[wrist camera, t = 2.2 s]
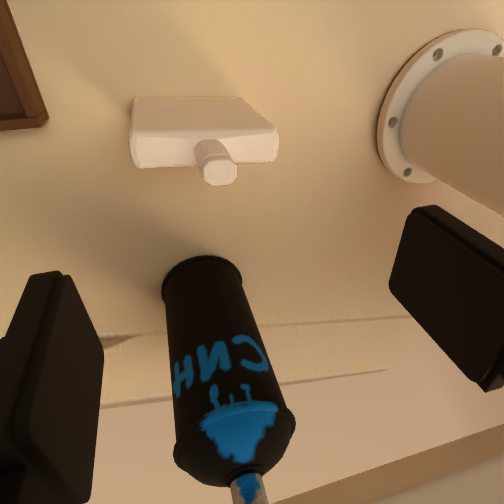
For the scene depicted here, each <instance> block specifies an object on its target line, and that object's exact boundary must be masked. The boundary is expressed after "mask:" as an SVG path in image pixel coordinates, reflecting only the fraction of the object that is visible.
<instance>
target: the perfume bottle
mask: <svg viewBox="0 0 504 504" xmlns="http://www.w3.org/2000/svg"><path fill="white" fill-rule="evenodd" d="M278 143H279V137H278V132H277V130H276V128H275V127H274V126H273V125H272V124H270V123H269V122H268V121H267V120H266V119H265V118H264V117H262V116H261V115H260V114H259V113H258V112H257V111H256V110H254V109H253V108H252V107H251V106H250V105H249V104H248V103H246V102H245V101H244V100H243V99H242V98H134V100H133V103H132V113H131V124H130V134H129V150H130V156H131V159H132V161H133V164H134V165H135V166H136V167H137V168H138V169H140V168H161V167H182V166H199V169H200V172H201V175H202V177H203V180H204V181H205V182H206V183H208V184H209V185H212V186H222V185H229V184H231V183H232V182H233V181H234V180H235V179H236V178H237V166H236V164H244V163H265V162H273V161H274V159H275V158H276V155H277V152H278Z"/></svg>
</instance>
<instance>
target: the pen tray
mask: <svg viewBox="0 0 504 504" xmlns="http://www.w3.org/2000/svg"><path fill="white" fill-rule="evenodd" d="M48 119H49V116H48V113H47V111H46V108H45V105H44V102H43V100H42V97H41V94H40V91H39V89H38V86H37V83H36V80H35V78H34V75H33V72H32V69H31V67H30V64H29V61H28V58H27V56H26V53H25V50H24V47H23V45H22V42H21V39H20V36H19V34H18V31H17V28H16V25H15V23H14V20H13V17H12V14H11V12H10V9H9V6H8V3H7V1H6V0H0V131H5V130H16V129H27V128H38V127H42V125H43V124H44V123H45V122H46V121H47V120H48Z"/></svg>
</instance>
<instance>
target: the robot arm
mask: <svg viewBox="0 0 504 504" xmlns="http://www.w3.org/2000/svg"><path fill="white" fill-rule="evenodd" d="M377 144H378V151H379V154H380V157H381V160H382V162H383V163H384V165H385V166H386V168H387V169H388V170H389V171H390V172H392V173H393V174H394V175H395V176H397V177H398V178H400V179H402V180H404V181H407V182H410V183H417V184H424V183H431V182H435V181H438V180H440V181H442V182H444V183H445V184H447V185H449V186H451V187H452V188H454V189H456V190H458V191H460V192H461V193H463V194H465V195H467V196H468V197H470V198H472V199H474V200H475V201H477V202H479V203H481V204H483V205H484V206H486V207H488V208H490V209H491V210H493V211H495V212H497V213H498V214H500V215H502V216H504V41H503V40H502V39H501V38H500V37H499V36H498V35H496V34H494V33H492V32H489V31H487V30H478V29H462V30H456V31H453V32H450V33H447V34H444V35H442V36H441V37H439V38H437V39H435V40H433V41H431V42H430V43H429V44H427V45H426V46H425V47H423V48H422V49H421V50H420V51H418V52H417V53H416V54H415V55H414V56H413V57H412V58H411V60H410V61H409V62H408V63H407V64H406V65H405V66H404V67H403V69H402V70H401V72H400V73H399V74H398V76H397V77H396V78H395V80H394V82H393V84H392V86H391V87H390V89H389V91H388V93H387V95H386V98H385V100H384V103H383V105H382V108H381V111H380V116H379V120H378V125H377ZM389 289H390V291H391V293H392V294H393V295H394V297H395V298H396V299H397V300H398V301H399V302H400V303H401V304H402V305H403V307H404V308H405V309H406V310H407V311H408V312H409V313H410V314H411V315H412V317H413V318H414V319H415V320H416V321H417V322H418V323H419V324H420V325H421V327H422V328H423V329H424V330H425V331H426V332H427V333H428V334H429V335H430V336H431V338H432V339H433V340H434V341H435V342H436V343H437V344H438V345H439V347H440V348H441V349H442V350H443V351H444V352H445V353H446V354H447V355H448V357H449V358H450V359H451V360H452V361H453V362H454V363H455V364H456V365H457V367H458V368H459V369H460V370H461V371H462V372H463V373H464V374H465V375H466V377H467V378H469V379H470V380H471V381H473V382H476V383H477V384H478V385H479V386H480V387H481V389H482V390H483V391H484V392H485V393H486V392H489V391H492V390H496V389H499V388H502V387H503V385H504V249H503V248H502V247H501V246H499V245H497V244H496V243H494V242H493V241H491V240H490V239H488V238H487V237H485V236H484V235H482V234H480V233H479V232H477V231H476V230H474V229H473V228H471V227H470V226H468V225H467V224H465V223H464V222H462V221H460V220H459V219H457V218H456V217H454V216H453V215H451V214H450V213H448V212H447V211H445V210H443V209H442V208H440V207H439V206H437V205H429V206H423V207H417V208H415V209H413V210H412V211H411V214H409V215H408V216H407V219H406V222H405V226H404V229H403V233H402V236H401V240H400V243H399V247H398V251H397V254H396V258H395V261H394V265H393V268H392V272H391V276H390V279H389ZM103 366H104V351H103V347H102V344H101V342H100V340H99V337H98V335H97V333H96V331H95V329H94V326H93V324H92V322H91V320H90V317H89V315H88V313H87V311H86V309H85V306H84V304H83V302H82V300H81V297H80V295H79V293H78V291H77V289H76V286H75V284H74V282H73V280H72V278H71V276H70V275H62V273H61V272H60V271H58V270H57V271H51V272H45V273H40V274H34V275H31V276H30V277H29V279H28V282H27V284H26V286H25V289H24V291H23V294H22V296H21V299H20V301H19V304H18V306H17V308H16V311H15V313H14V316H13V318H12V321H11V323H10V325H9V328H8V330H7V333H6V335H5V337H2V338H1V339H0V504H84V503H86V502H88V501H89V499H90V496H91V489H92V479H93V468H94V458H95V447H96V437H97V428H98V417H99V407H100V397H101V387H102V377H103ZM273 504H504V424H502V425H499V426H496V427H493V428H490V429H487V430H484V431H481V432H478V433H475V434H472V435H470V436H466V437H464V438H461V439H458V440H455V441H452V442H449V443H446V444H443V445H440V446H437V447H434V448H432V449H429V450H426V451H423V452H420V453H417V454H414V455H411V456H408V457H405V458H402V459H400V460H397V461H394V462H391V463H388V464H385V465H382V466H379V467H377V468H374V469H370V470H367V471H365V472H362V473H359V474H356V475H353V476H350V477H347V478H344V479H341V480H339V481H336V482H333V483H330V484H327V485H324V486H321V487H318V488H315V489H313V490H310V491H307V492H304V493H301V494H298V495H295V496H293V497H290V498H287V499H284V500H281V501H278V502H275V503H273Z"/></svg>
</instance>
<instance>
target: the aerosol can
mask: <svg viewBox="0 0 504 504" xmlns="http://www.w3.org/2000/svg"><path fill="white" fill-rule="evenodd" d="M161 294H162V299H163V301H164V303H165V309H166V321H167V334H168V346H169V358H170V371H171V383H172V395H173V407H174V420H175V431H176V444H175V446H174V451H173V457H174V461H175V463H176V464H177V466H178V467H179V468H181V469H182V470H184V471H186V472H188V473H189V475H191V476H192V477H194V478H195V479H196V480H198V481H199V482H201V483H203V484H206V485H210V486H217V487H229V488H231V494H232V499H233V504H268V500H267V496H266V492H265V488H264V485H263V481H262V476H263V475H264V474H265V473H267V472H268V471H269V470H271V469H272V468H273V467H274V466H275V465H276V464H277V463H278V462H279V461H280V459H281V458H282V457H283V455H284V453H285V451H286V448H287V446H288V444H289V441H290V439H291V437H292V435H293V433H294V431H295V426H296V422H295V417H294V415H293V414H292V412H291V411H290V410H289V409H288V408H287V407H286V404H285V401H284V398H283V396H282V393H281V390H280V387H279V385H278V382H277V379H276V377H275V374H274V371H273V368H272V366H271V363H270V360H269V358H268V355H267V352H266V349H265V347H264V344H263V341H262V339H261V336H260V333H259V330H258V328H257V325H256V322H255V319H254V317H253V314H252V311H251V309H250V306H249V303H248V300H247V298H246V295H245V292H244V290H243V287H242V277H241V274H240V272H239V270H238V269H237V268H236V267H235V266H234V265H233V264H232V263H231V262H229V261H228V260H226V259H223V258H221V257H216V256H198V257H194V258H190V259H187V260H185V261H183V262H181V263H179V264H178V265H177V266H175V267H174V268H173V269H172V270H171V271H170V272H169V273H168V274H167V276H166V278H165V279H164V282H163V285H162V291H161Z"/></svg>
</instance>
